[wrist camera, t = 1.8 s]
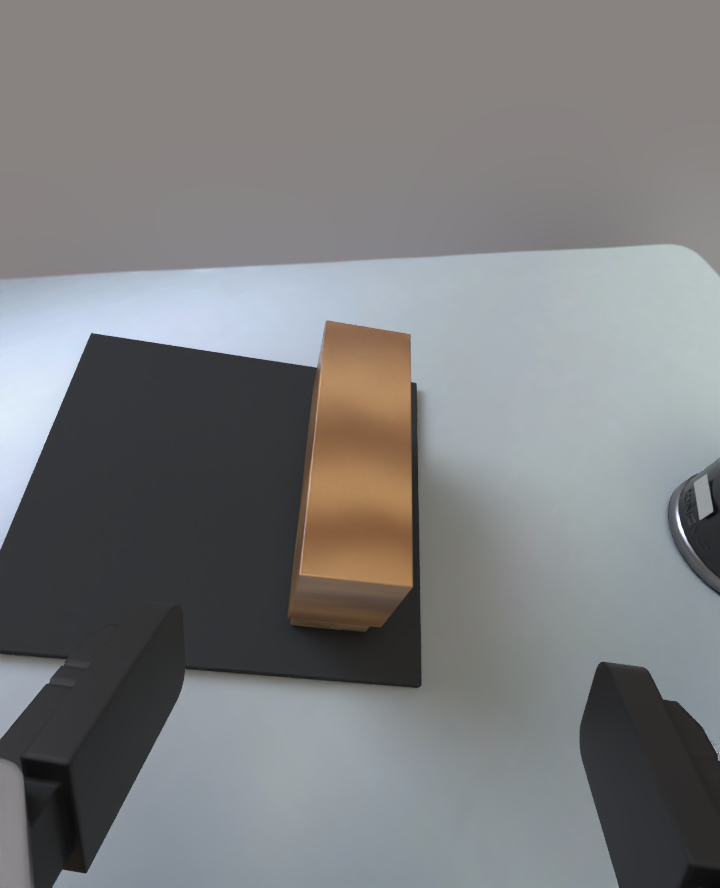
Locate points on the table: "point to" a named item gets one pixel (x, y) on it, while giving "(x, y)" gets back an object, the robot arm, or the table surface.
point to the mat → (185, 518)
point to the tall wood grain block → (356, 484)
